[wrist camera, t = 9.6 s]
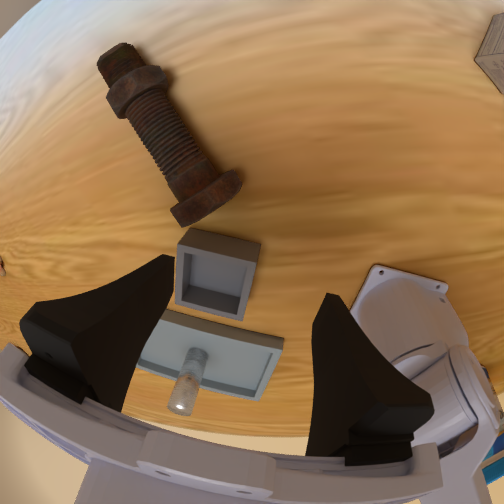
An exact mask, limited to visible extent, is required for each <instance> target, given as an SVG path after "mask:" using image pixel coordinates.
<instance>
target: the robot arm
mask: <svg viewBox="0 0 504 504" xmlns="http://www.w3.org/2000/svg"><path fill="white" fill-rule="evenodd" d="M174 262H175V257H172V256H168V255H164V254H162V255H160V256H158V257H157V258H155V259H153V260H152V261H150V262H148V263H147V264H145V265H143V266H141V267H140V268H138V269H136V270H135V271H133V272H131V273H129V274H127V275H125V276H123V277H121V278H119V279H118V280H116V281H113V282H111V283H109V284H107V285H104V286H102V287H99V288H97V289H94V290H91V291H88V292H85V293H82V294H78V295H75V296H71V297H66V298H61V299H56V300H49V301H41V302H36V303H35V304H34V305H33V306H32V307H31V308H30V310H29V311H28V312H27V313H26V314H25V315H24V316H23V317H22V319H21V320H20V323H19V324H20V330H21V332H22V335H23V337H24V339H25V340H26V342H27V344H28V346H29V348H30V350H31V351H32V355H31V356H30V357H28V356H27V355H26V354H25V353H24V352H22V351H21V350H20V349H18V348H17V347H15V346H14V345H13V344H11V343H8V344H7V345H6V347H5V348H4V349H3V351H2V352H1V353H0V401H1V402H2V404H3V405H4V406H5V407H6V408H7V409H8V410H10V411H11V412H12V413H13V414H14V415H16V416H17V417H18V418H19V419H21V420H22V421H23V422H24V423H26V424H27V425H28V426H29V427H31V428H32V429H34V430H35V431H36V432H38V433H39V434H40V435H42V436H43V437H44V438H46V439H47V440H49V441H50V442H52V443H53V444H55V445H56V446H58V447H59V448H61V449H62V450H64V451H66V452H67V453H69V454H70V455H72V456H74V457H76V458H77V459H79V460H81V461H82V462H84V463H86V464H88V465H89V467H88V470H87V472H86V474H85V477H84V479H83V482H82V485H81V487H80V490H79V492H78V495H77V497H76V500H75V503H74V504H403V503H407V502H410V501H413V500H415V499H419V500H420V502H421V504H492V501H491V498H490V494H489V491H488V487H487V484H486V481H485V478H484V475H483V472H482V469H481V466H480V464H481V463H482V461H483V460H484V458H485V456H486V455H487V453H488V452H489V450H490V449H491V447H492V445H493V444H494V442H495V440H496V438H497V436H498V434H499V425H500V412H499V409H498V407H497V404H496V402H495V399H494V395H493V391H492V389H491V386H490V383H489V381H488V379H487V377H486V374H485V372H484V370H483V369H482V367H481V365H480V363H479V361H478V360H477V358H476V357H475V355H474V354H473V352H472V351H471V350H470V349H469V341H468V335H467V332H466V330H465V328H464V326H463V324H462V322H461V321H460V319H459V317H458V315H457V314H456V312H455V310H454V308H453V307H452V305H451V303H450V302H449V300H448V298H447V297H446V295H445V293H446V292H447V290H448V285H447V283H444V282H441V281H437V280H433V279H430V278H426V277H422V276H419V275H415V274H411V273H407V272H404V271H400V270H396V269H392V268H388V267H385V266H381V265H374V266H373V267H372V268H371V270H370V272H369V274H368V276H367V278H366V280H365V282H364V284H363V286H362V288H361V290H360V292H359V294H358V296H357V298H356V300H355V302H354V304H353V306H352V308H351V310H350V311H349V310H348V308H347V307H346V305H345V304H344V302H343V301H342V299H341V298H340V296H339V295H335V294H330V293H326V296H325V298H324V300H323V302H322V304H321V307H320V309H319V311H318V313H317V315H316V317H315V320H314V322H313V325H312V342H311V343H312V358H313V373H314V397H313V409H312V418H311V426H310V432H309V439H308V445H307V449H306V454H305V456H297V455H285V454H276V453H268V452H260V451H254V450H247V449H241V448H236V447H231V446H226V445H221V444H217V443H212V442H208V441H204V440H200V439H196V438H192V437H189V436H185V435H181V434H178V433H175V432H172V431H169V430H165V429H162V428H159V427H156V426H154V425H151V424H148V423H145V422H142V421H140V420H137V419H135V418H132V417H129V416H127V415H125V414H122V413H121V410H122V407H123V403H124V400H125V396H126V393H127V390H128V387H129V384H130V381H131V378H132V376H133V373H134V370H135V368H136V365H137V362H138V360H139V358H140V355H141V353H142V350H143V348H144V346H145V344H146V342H147V340H148V339H149V337H150V335H151V333H152V332H153V330H154V328H155V327H156V325H157V323H158V322H159V320H160V318H161V316H162V315H163V313H164V311H165V309H166V308H167V305H168V303H169V301H170V298H171V296H172V293H173V290H174ZM381 270H383V272H381V273H379V272H380V271H381ZM436 286H437V287H436Z"/></svg>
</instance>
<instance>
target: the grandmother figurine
mask: <svg viewBox="0 0 504 504" xmlns="http://www.w3.org/2000/svg"><path fill="white" fill-rule="evenodd" d="M0 264H2V259H1V257H0ZM0 275H1V276H5V275H6V274H5V270H4V269H3V267H2V266H1V265H0Z"/></svg>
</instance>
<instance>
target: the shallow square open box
mask: <svg viewBox="0 0 504 504" xmlns="http://www.w3.org/2000/svg"><path fill="white" fill-rule="evenodd" d="M260 246H261V244H258V243H253V242H249V241H245V240H241V239H236V238H232V237H228V236H224V235H219V234H215V233H211V232H206V231H202V230H198V229H193V228H189V230H188V231H187V232H186V233H185V235H184V236H183V237H182V239H181V240H180V241H179V243H178V244H177V261H176V284H175V304H178V305H181V306H185V307H188V308H192V309H195V310H199V311H203V312H207V313H211V314H214V315H218V316H222V317H226V318H230V319H234V320H239V321H243V317H244V313H245V309H246V305H247V301H248V297H249V293H250V289H251V285H252V281H253V277H254V273H255V268H256V264H257V260H258V255H259V251H260Z"/></svg>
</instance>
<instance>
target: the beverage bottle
mask: <svg viewBox="0 0 504 504" xmlns="http://www.w3.org/2000/svg"><path fill="white" fill-rule="evenodd" d="M481 367H482V369H483V370H484V372H485V374H486V377H487V379H488V381H489V383H490V386H491V389H492V391H493V395H494V399H495V402H496V404H497V407H498V409H499V412H500V425H499V434H498V436H497V438H496V440H495V442H494V444H493V445H492V447H491V449H490V450H489V452H488V453H487V455H486V456H485V458H484V460H483V461H482V463H481V464H480V466H481V469H482V472H483V475H484V478H485V481H486V484H487V485H488V484H490V483H492V482H493V481H495V480H497V479H499V478H500V477H502V476H504V412H503V410H502V407H501V405H500V402H499V400H498V397H497V395H496V392H495V390H494V387H493V385H492V382H491V380H490V378H489V376H488V372H487V370H486V368H485V367H484V366H481Z"/></svg>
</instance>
